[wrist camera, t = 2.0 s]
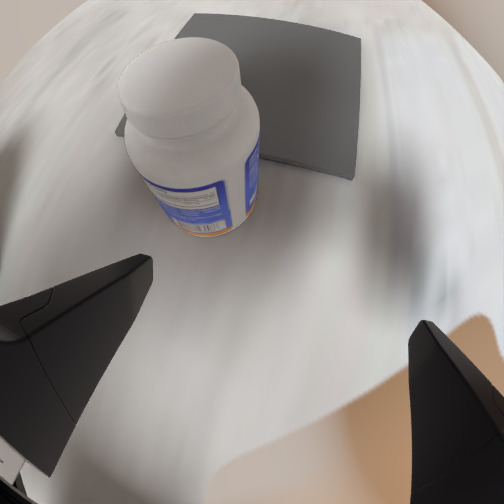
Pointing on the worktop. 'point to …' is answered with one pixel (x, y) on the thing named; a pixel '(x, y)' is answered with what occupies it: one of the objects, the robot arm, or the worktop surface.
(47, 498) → the worktop surface
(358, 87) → the rubber mat
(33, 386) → the robot arm
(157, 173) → the pill bottle
